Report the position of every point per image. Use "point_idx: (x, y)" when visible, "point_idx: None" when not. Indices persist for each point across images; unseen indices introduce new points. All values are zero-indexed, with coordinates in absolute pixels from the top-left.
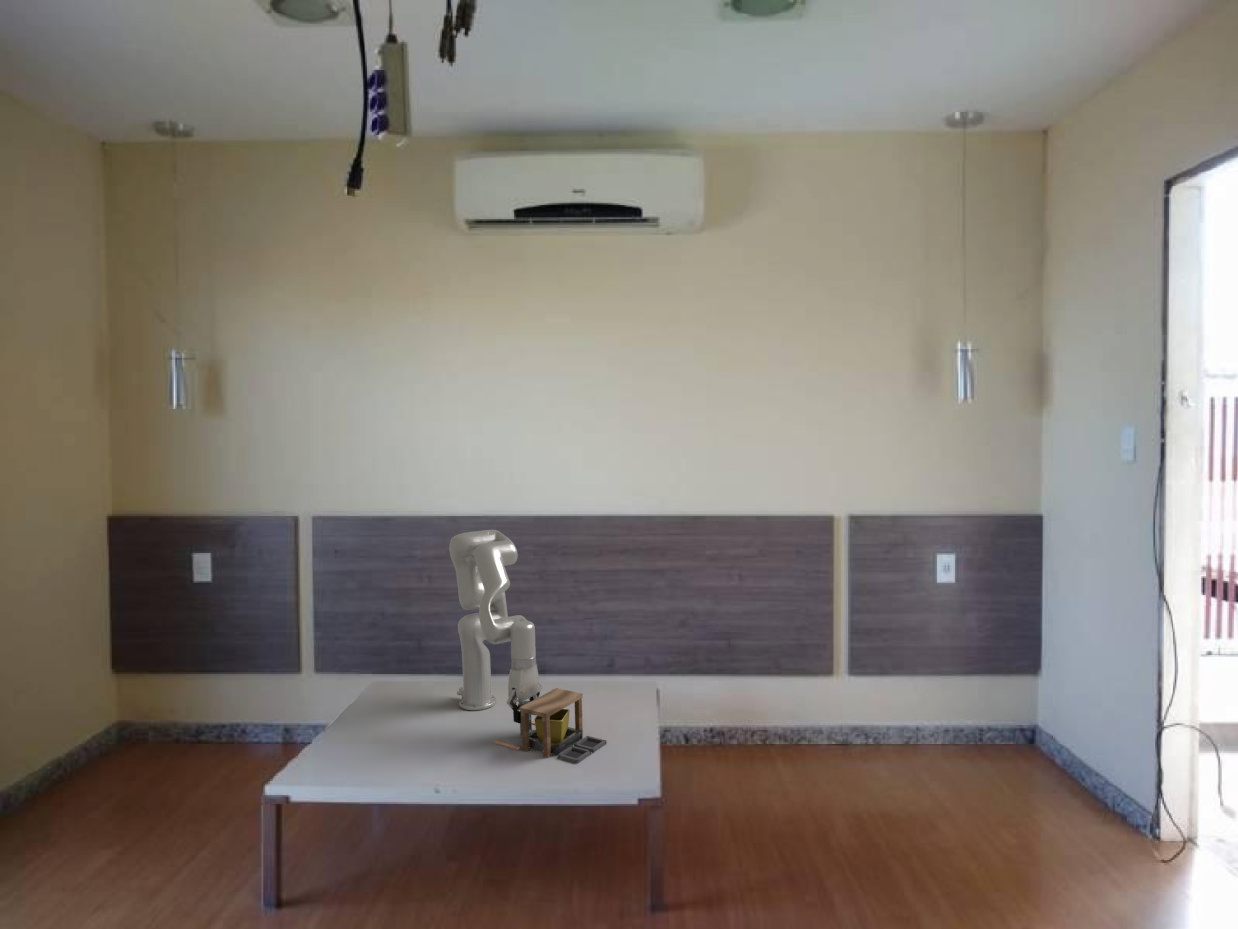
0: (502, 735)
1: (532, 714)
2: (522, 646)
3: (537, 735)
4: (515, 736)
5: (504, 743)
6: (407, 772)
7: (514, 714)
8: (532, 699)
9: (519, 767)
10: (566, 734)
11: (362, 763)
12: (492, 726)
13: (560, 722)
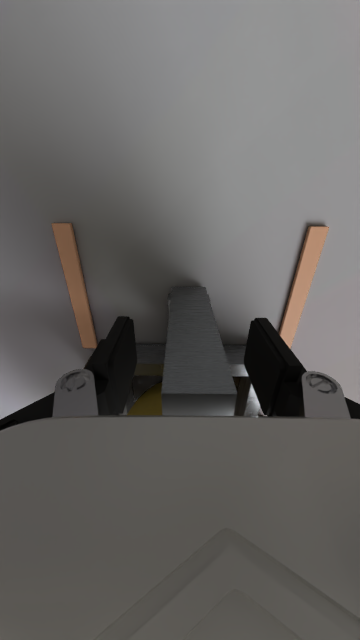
0: (137, 204)
1: (247, 344)
2: None
3: (129, 411)
4: (161, 267)
5: (78, 279)
6: None
7: (91, 363)
8: (296, 414)
9: (20, 402)
10: (236, 410)
11: None
12: (200, 27)
13: None
